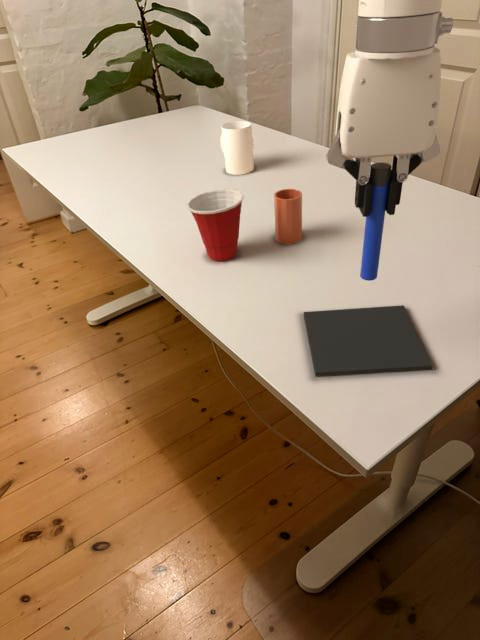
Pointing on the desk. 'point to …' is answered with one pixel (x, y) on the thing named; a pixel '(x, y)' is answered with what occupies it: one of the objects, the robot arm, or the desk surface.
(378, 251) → the marker
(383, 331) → the desk mat
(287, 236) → the pen glass
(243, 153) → the mug
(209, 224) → the plastic cup
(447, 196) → the desk surface
